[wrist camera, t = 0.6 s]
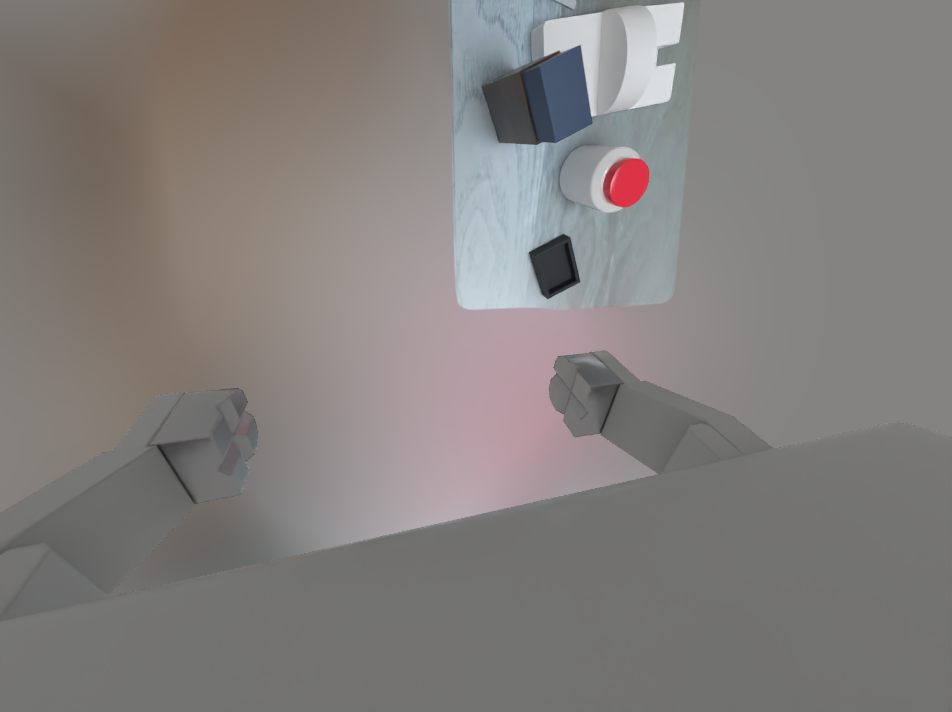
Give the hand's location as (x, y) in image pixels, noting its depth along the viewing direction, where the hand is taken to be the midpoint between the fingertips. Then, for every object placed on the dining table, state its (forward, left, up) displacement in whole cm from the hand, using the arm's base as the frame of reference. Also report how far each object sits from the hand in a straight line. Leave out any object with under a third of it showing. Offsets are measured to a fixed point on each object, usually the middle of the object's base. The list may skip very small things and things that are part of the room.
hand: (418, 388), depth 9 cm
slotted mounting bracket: (0, +33, -44) cm, 55 cm away
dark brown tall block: (-1, +20, -43) cm, 48 cm away
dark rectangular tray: (+23, +20, -43) cm, 53 cm away
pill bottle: (+11, +29, -44) cm, 53 cm away
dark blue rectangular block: (-1, +20, -31) cm, 37 cm away
